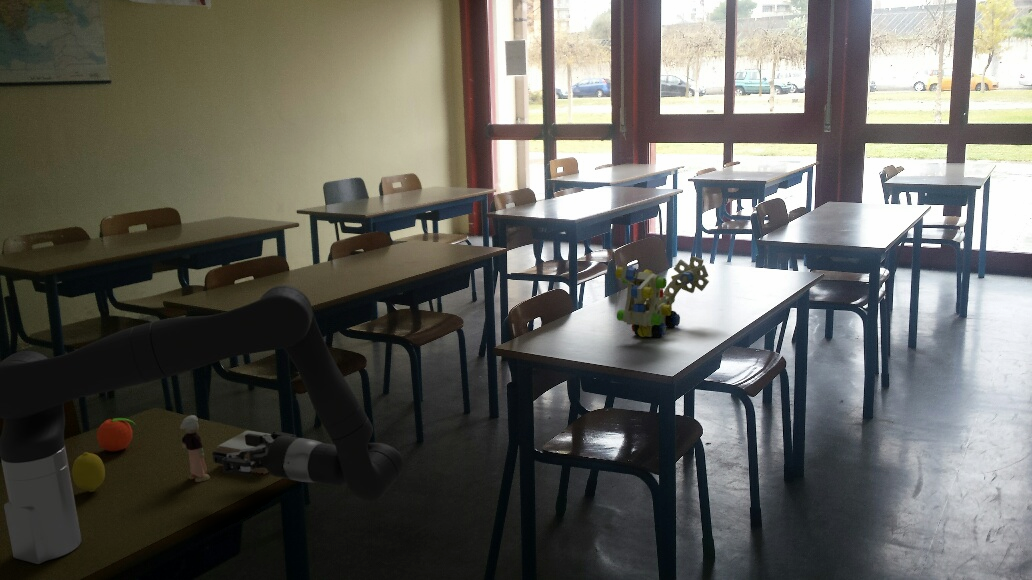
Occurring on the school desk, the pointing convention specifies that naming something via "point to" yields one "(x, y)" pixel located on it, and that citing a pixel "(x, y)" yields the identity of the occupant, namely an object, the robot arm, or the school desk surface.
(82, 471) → the lemon
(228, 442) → the plinth
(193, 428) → the grandmother figurine
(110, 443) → the clementine
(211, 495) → the school desk surface
